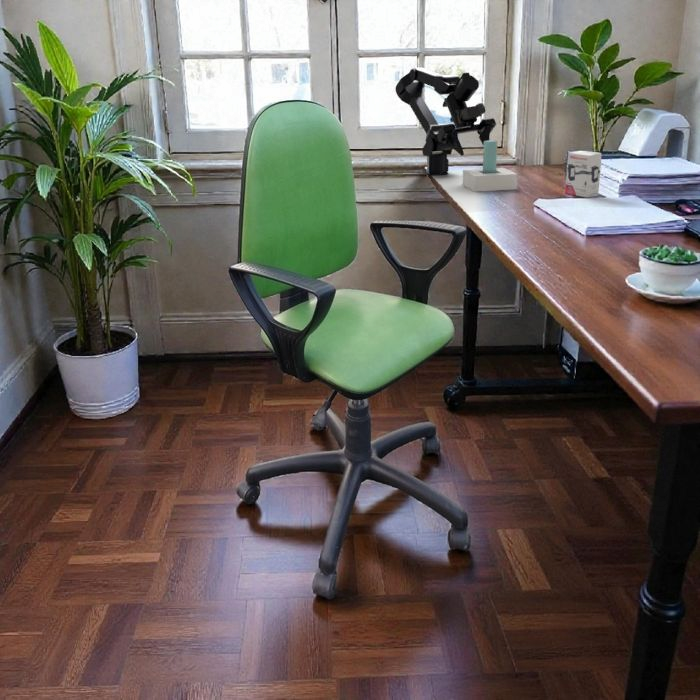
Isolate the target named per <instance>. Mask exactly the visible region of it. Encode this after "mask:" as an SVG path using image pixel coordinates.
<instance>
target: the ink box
mask: <svg viewBox="0 0 700 700" xmlns="http://www.w3.org/2000/svg"><path fill="white" fill-rule="evenodd" d="M602 155H603V154H602V153H601V152H598V151H597V152H595V151H589V150H577V151H571V152H570V151H569V152H568V154H567V165H566V166H567V167H566V175H565V176H566V177H565V179H566V180H565V191H564V193H565V194H567V195H571V196H572V195H573V196H577V197H583V198H591V197H597V196H599V191H600V189H599V188H600V178H601V168H602V167H601V166H602Z"/></svg>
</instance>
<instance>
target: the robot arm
mask: <svg viewBox="0 0 700 700" xmlns="http://www.w3.org/2000/svg"><path fill="white" fill-rule="evenodd" d="M425 85H426V86H430V87H432V88H434V89H433V90H434V92H436V93H437V94H439V95H443V96H444V95H447V97H444V100H443V101H442V107H443V108H447V109H448V112H449V115H450V119H449V120H450V123H447V124H441V125H440V124H439V122H438V121H437V120H436V117H435V116H434V115H433V113H432V111H431V110H430V108H429V106H428V105H427V103H426V102H425V99H424V98H423V96H422V95H423V89H424V88H425ZM479 86H480V83H479V80H478V79H477V78H476V77H475V76H473V75H471V74H470V72H463V73H462V74H461V76H459V75H458V74H441V73H438V72H435V71H432V70H428V69H427V68H426V67H413V68H411V69H410V70H409V72H408V73H407V74H405V75H403V76H402V77H401V78H400V79H399V81H398V82H397V84H396V86H395V94H396V95H397V97H398V98H399V99H400V100H401V102H403V103H405V104H407V105H408V106H409V107H410V108H411V110H412V112H413V113H414V115H415V117H416V119H417V120H418V122H419V124H420V125H421V127H422V128H423V130H424V132H425V134H426V136H425V144H424V145H423V147H422V149H421V152H422V155H423V156H425V157H426V170H425V173H426V174H427V175H429V176H433V174H437V175H438V176H439V175H447V174H449V161H450V160H449V158H448V155H452V152H453V150H454V151H455V152H456V153H458V154H459V155H460V156H464V154H465V153H464V149H463V146H462V145H461V142H460V139H459V134H465V133H472V132H473V133H474V132H476V133H477V135H478V138H479V141H480V142H481V144H482V147H484V141H490V134H491V133H492V131H493V130H494V128H495V127H496V126H497V122H496V119H495V118H494V117H488V118H482V119H481V121H480V122H479V123H478V124H475V123H477V121H478V117H482V116H483V114H485V113H486V106H485V104H484V103H483V102H480V103H479V102H478V103H477V104H475V105H472V106H468V105H467V102H468V101H470V99H471V98H472V97H473V96H474V95H475V93H476V92H477V90H478V88H480V87H479Z"/></svg>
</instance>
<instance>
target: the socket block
mask: <svg viewBox="0 0 700 700" xmlns="http://www.w3.org/2000/svg"><path fill="white" fill-rule="evenodd" d="M462 185H463V186H464V187H465V188H468V189H469V190H471V191H473V192H475V193H477V192H492V191H493V192H494V191H507V190H510V191H512V190H517V188H518V187H517V186H518V173H515V172H513V171H512V170H509V169H507V168H505V167H496V173H489V174H483V168H473V169H462Z"/></svg>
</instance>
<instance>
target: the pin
mask: <svg viewBox="0 0 700 700" xmlns="http://www.w3.org/2000/svg"><path fill="white" fill-rule="evenodd" d="M482 152H483V155H482V169H483V174H489V173H496V168H497V160H498V159H497V158H498V157H497V154H498V141H497V140H489V141H484V146H483V151H482Z"/></svg>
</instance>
